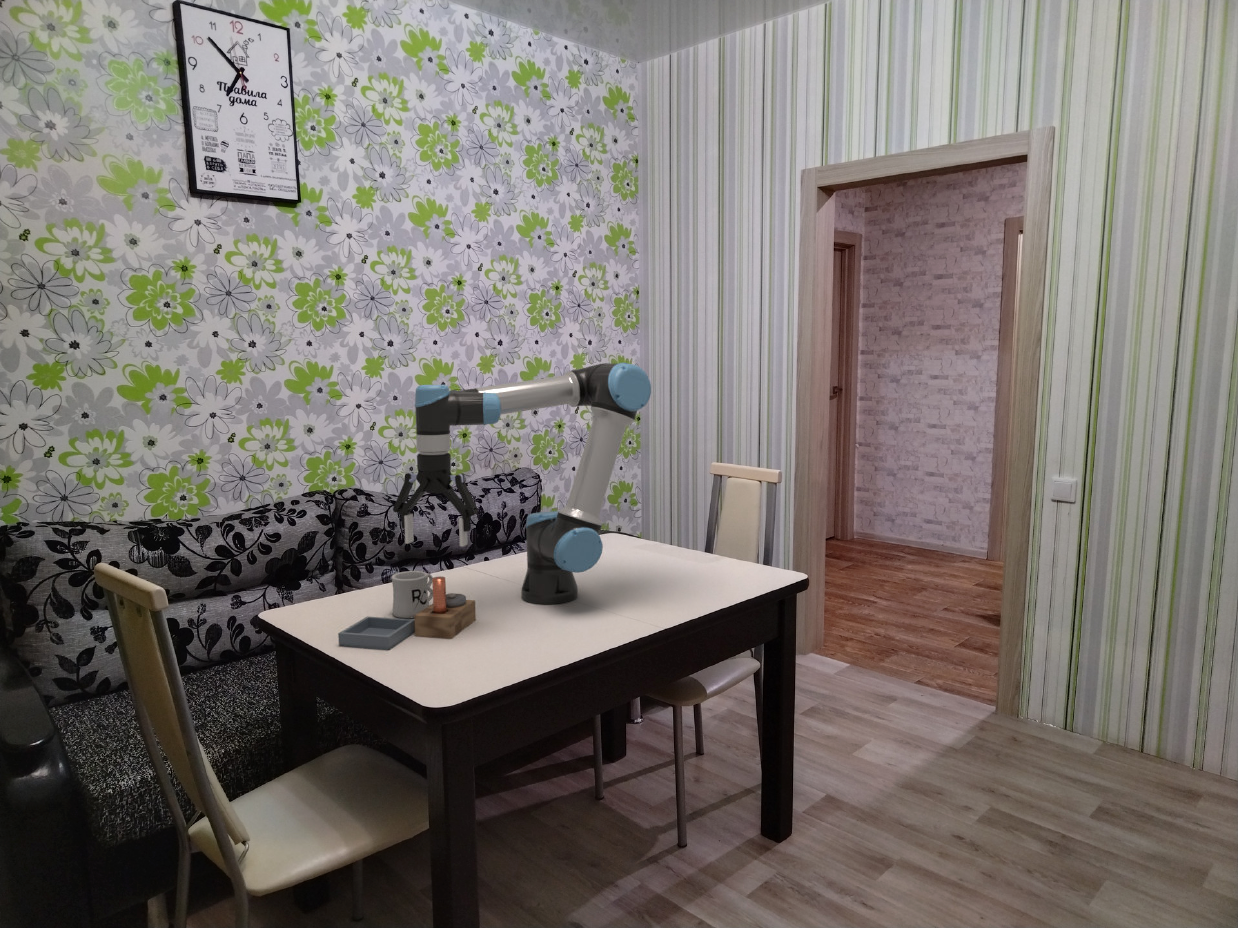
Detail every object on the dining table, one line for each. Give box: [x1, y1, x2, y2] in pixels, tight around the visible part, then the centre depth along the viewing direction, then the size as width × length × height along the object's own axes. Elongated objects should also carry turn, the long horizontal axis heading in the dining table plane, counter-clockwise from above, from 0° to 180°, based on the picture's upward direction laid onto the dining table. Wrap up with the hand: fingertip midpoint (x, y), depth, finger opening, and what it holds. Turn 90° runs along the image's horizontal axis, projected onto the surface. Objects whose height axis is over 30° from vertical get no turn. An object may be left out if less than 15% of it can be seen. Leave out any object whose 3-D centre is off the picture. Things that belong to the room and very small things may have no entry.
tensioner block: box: [414, 592, 477, 640], centre depth 197 cm, size 9×14×7 cm, turn 167°
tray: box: [337, 615, 415, 651], centre depth 190 cm, size 12×12×3 cm
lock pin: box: [431, 575, 447, 614], centre depth 193 cm, size 3×3×13 cm
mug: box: [390, 570, 434, 619], centre depth 209 cm, size 12×9×10 cm
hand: (436, 543), depth 191 cm, fingers open, 13 cm apart
